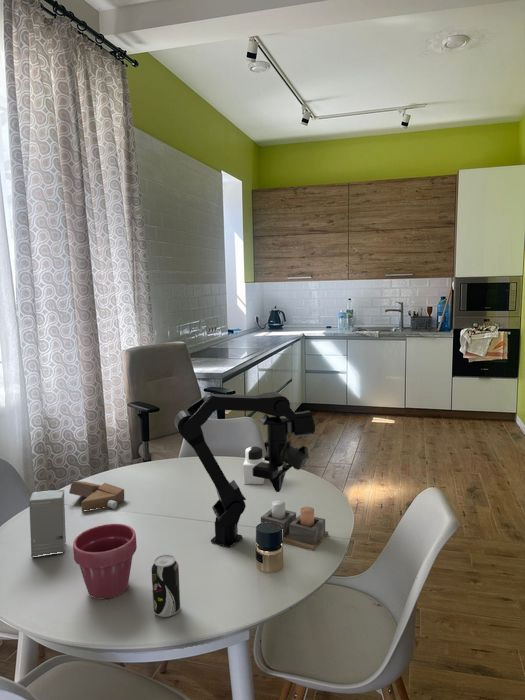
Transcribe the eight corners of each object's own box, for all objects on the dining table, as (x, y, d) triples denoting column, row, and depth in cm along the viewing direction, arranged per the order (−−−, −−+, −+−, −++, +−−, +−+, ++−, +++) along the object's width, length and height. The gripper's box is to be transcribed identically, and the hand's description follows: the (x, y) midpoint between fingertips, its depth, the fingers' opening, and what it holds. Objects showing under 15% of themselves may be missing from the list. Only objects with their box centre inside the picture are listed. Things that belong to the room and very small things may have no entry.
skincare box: (31, 559, 136) (26, 501, 134) (35, 546, 143) (30, 491, 141) (65, 554, 138) (61, 497, 136) (68, 541, 145) (64, 487, 143)
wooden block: (102, 525, 161) (58, 508, 168) (129, 503, 172) (87, 488, 179) (102, 504, 159) (56, 488, 165) (129, 483, 170) (86, 469, 177)
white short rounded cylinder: (281, 524, 145) (281, 507, 145) (269, 521, 147) (269, 504, 146) (287, 518, 149) (287, 501, 148) (276, 515, 150) (275, 499, 150)
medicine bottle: (265, 476, 189) (264, 445, 187) (263, 484, 182) (262, 451, 180) (245, 476, 190) (245, 444, 188) (243, 484, 183) (242, 451, 181)
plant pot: (75, 578, 127) (72, 528, 125) (134, 566, 132) (132, 518, 130) (77, 613, 114) (73, 558, 112) (142, 598, 119) (139, 545, 117)
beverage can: (148, 611, 114) (145, 560, 112) (170, 599, 118) (168, 550, 116) (163, 623, 110) (160, 570, 108) (185, 610, 114) (183, 559, 112)
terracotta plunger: (310, 531, 141) (310, 514, 140) (298, 528, 143) (297, 511, 142) (316, 525, 144) (316, 508, 143) (304, 522, 146) (304, 505, 145)
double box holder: (313, 550, 138) (313, 533, 137) (257, 535, 146) (257, 519, 145) (328, 534, 146) (328, 517, 145) (274, 521, 155) (274, 505, 154)
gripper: (288, 452, 133) (288, 510, 135) (317, 433, 149) (317, 485, 151) (250, 446, 138) (251, 501, 140) (282, 428, 154) (283, 478, 157)
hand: (277, 491), depth 147 cm, fingers closed
